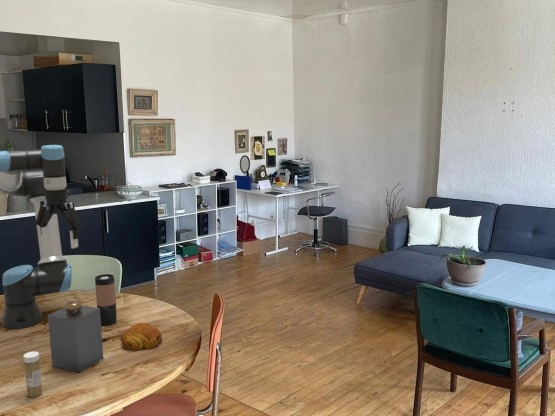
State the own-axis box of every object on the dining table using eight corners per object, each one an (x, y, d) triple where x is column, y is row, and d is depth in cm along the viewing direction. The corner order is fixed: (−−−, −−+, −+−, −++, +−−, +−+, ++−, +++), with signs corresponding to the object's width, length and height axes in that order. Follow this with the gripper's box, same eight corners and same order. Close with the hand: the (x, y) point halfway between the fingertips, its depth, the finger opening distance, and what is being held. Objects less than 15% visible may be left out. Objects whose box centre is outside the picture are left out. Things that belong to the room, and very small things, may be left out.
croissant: (115, 353, 209) (111, 334, 206) (139, 332, 223) (136, 314, 220) (148, 358, 204) (144, 339, 201) (170, 336, 217) (167, 318, 215)
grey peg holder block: (52, 366, 194) (47, 315, 190) (77, 352, 204) (73, 303, 201) (79, 373, 189) (74, 320, 185) (103, 358, 200) (99, 308, 196)
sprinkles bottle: (24, 394, 175) (20, 354, 173) (38, 388, 179) (34, 349, 176) (31, 399, 172) (27, 358, 170) (45, 393, 176) (41, 353, 173)
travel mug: (120, 319, 236) (117, 274, 232) (113, 326, 228) (109, 279, 224) (102, 319, 236) (99, 273, 233) (95, 326, 229) (91, 279, 225)
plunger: (59, 361, 194) (54, 305, 190) (77, 351, 202) (72, 297, 198) (78, 366, 191) (73, 309, 187) (96, 355, 198) (92, 300, 195)
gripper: (21, 188, 202) (27, 245, 206) (74, 191, 192) (79, 251, 196) (38, 185, 208) (42, 240, 212) (90, 188, 198) (94, 246, 202)
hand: (60, 245), depth 204 cm, fingers open, 13 cm apart
